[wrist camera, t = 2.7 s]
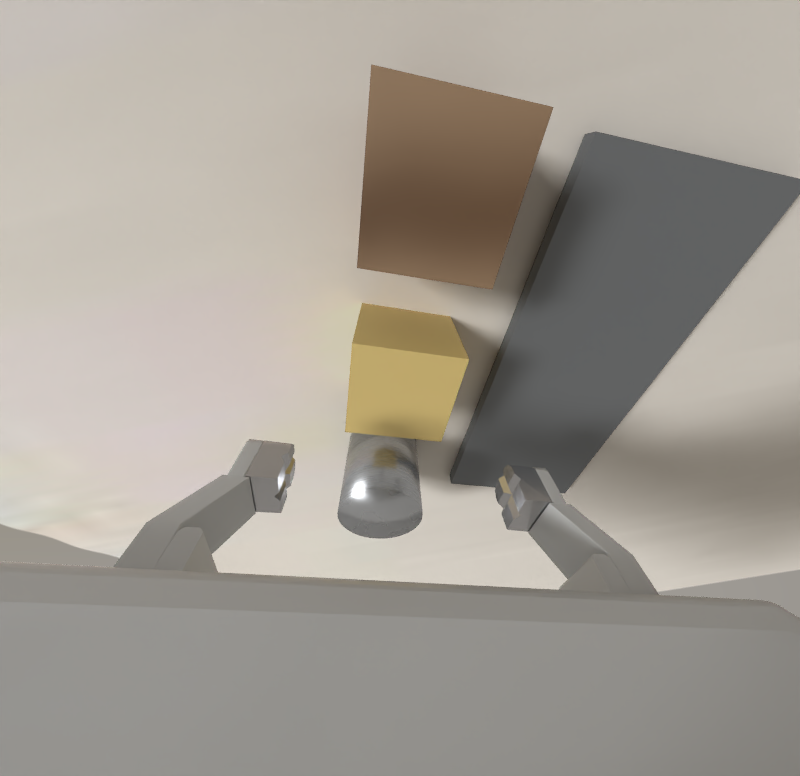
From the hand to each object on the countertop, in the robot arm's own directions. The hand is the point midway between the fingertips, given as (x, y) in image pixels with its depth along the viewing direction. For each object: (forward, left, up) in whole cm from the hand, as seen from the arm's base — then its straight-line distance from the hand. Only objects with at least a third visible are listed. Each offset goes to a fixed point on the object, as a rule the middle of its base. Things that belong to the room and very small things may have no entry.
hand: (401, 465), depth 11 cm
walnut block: (-9, 0, -8) cm, 12 cm away
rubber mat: (-1, +11, -8) cm, 14 cm away
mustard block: (-1, 0, -8) cm, 8 cm away
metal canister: (+7, 0, -8) cm, 11 cm away
